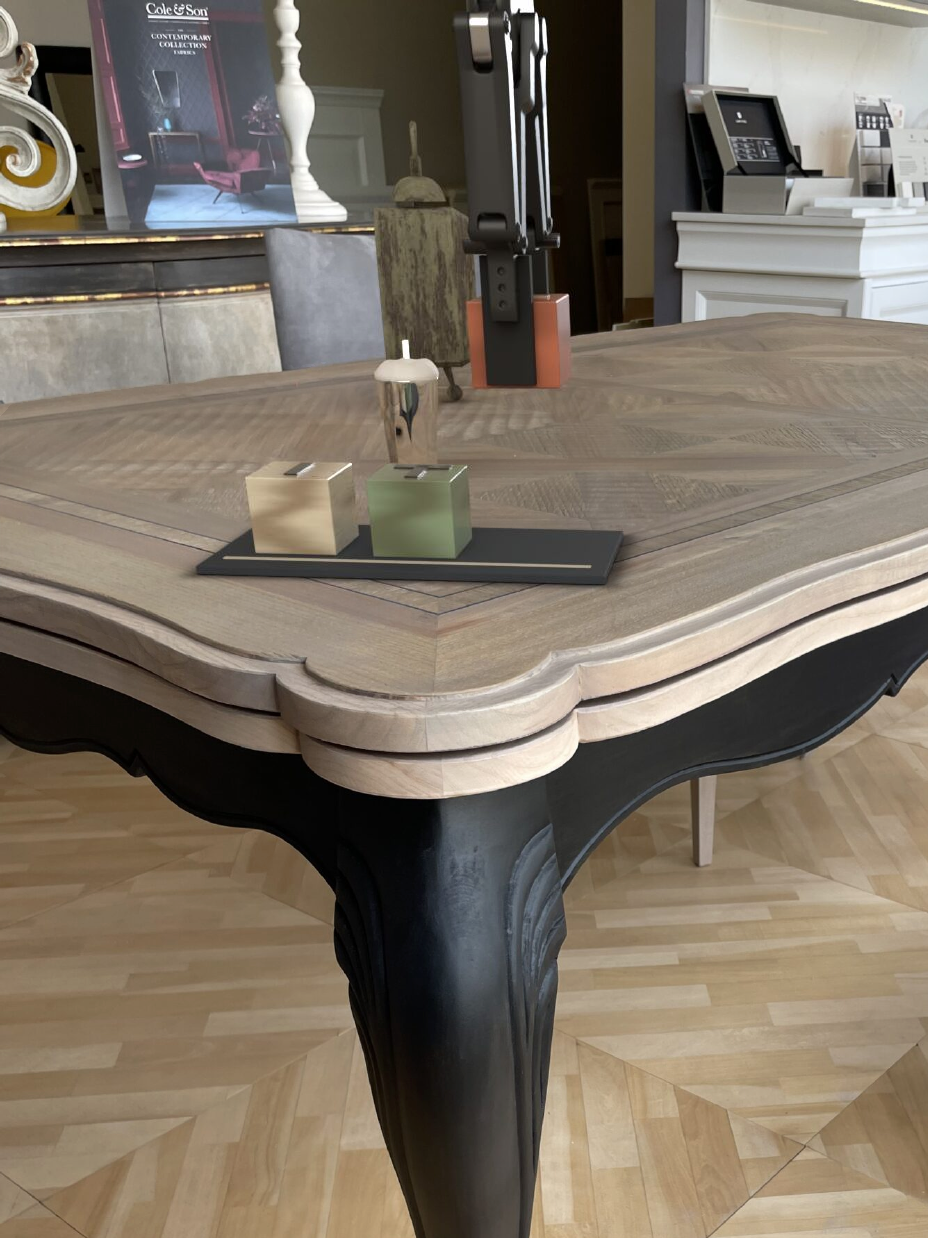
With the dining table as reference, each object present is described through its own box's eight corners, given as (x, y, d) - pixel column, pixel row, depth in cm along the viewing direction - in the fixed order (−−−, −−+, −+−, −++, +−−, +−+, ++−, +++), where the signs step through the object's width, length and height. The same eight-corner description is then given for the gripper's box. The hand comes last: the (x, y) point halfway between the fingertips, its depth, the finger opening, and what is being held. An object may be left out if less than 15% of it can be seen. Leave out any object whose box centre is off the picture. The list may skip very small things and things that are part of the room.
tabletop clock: (393, 391, 141) (370, 123, 129) (478, 390, 142) (462, 124, 130) (390, 413, 128) (364, 118, 116) (483, 411, 129) (466, 119, 117)
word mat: (196, 574, 76) (195, 565, 76) (261, 529, 86) (259, 521, 86) (604, 584, 75) (604, 575, 75) (623, 538, 85) (623, 529, 84)
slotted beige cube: (255, 554, 79) (243, 475, 76) (282, 534, 83) (272, 459, 81) (336, 555, 78) (327, 477, 76) (359, 535, 83) (351, 460, 81)
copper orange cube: (472, 389, 73) (465, 299, 71) (489, 377, 78) (483, 292, 76) (560, 388, 73) (556, 298, 71) (572, 376, 77) (568, 291, 75)
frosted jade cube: (373, 557, 78) (365, 478, 76) (394, 536, 83) (387, 461, 80) (455, 559, 78) (450, 479, 76) (472, 538, 82) (467, 463, 80)
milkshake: (447, 479, 100) (437, 339, 96) (446, 494, 96) (436, 348, 91) (387, 481, 100) (374, 340, 95) (383, 495, 95) (369, 348, 90)
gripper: (543, -171, 56) (563, 402, 67) (593, -95, 72) (602, 359, 83) (371, -168, 56) (419, 400, 68) (458, -93, 72) (485, 358, 83)
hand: (520, 377), depth 75 cm, fingers closed on copper orange cube, 5 cm apart
